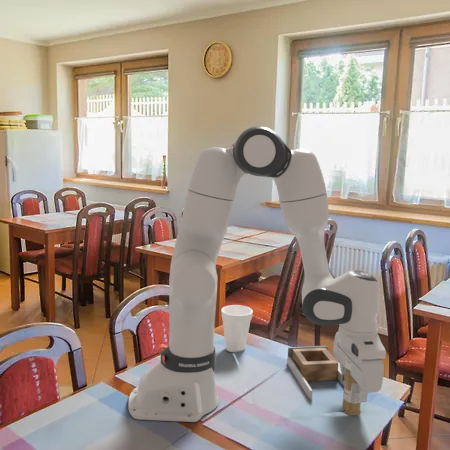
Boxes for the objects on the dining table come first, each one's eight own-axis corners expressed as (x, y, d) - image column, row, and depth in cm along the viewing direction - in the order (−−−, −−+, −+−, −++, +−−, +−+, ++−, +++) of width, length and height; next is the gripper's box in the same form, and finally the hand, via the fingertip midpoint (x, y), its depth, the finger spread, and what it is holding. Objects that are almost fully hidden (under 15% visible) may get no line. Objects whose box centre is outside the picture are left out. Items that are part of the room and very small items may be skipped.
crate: (302, 381, 132) (303, 364, 131) (291, 365, 141) (292, 348, 140) (337, 379, 133) (338, 363, 132) (324, 363, 143) (325, 347, 142)
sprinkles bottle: (339, 406, 121) (342, 356, 119) (356, 406, 122) (360, 356, 120) (345, 416, 117) (349, 364, 115) (363, 416, 117) (367, 364, 115)
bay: (309, 402, 123) (311, 380, 122) (287, 366, 142) (288, 347, 141) (354, 399, 125) (355, 378, 124) (325, 364, 144) (327, 345, 143)
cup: (255, 355, 149) (256, 315, 147) (223, 357, 147) (224, 316, 145) (246, 342, 159) (248, 304, 156) (217, 344, 156) (218, 305, 154)
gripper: (328, 321, 126) (325, 371, 128) (363, 356, 106) (359, 414, 108) (351, 321, 127) (348, 370, 129) (390, 355, 107) (385, 412, 109)
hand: (353, 390), depth 119 cm, fingers open, 8 cm apart
